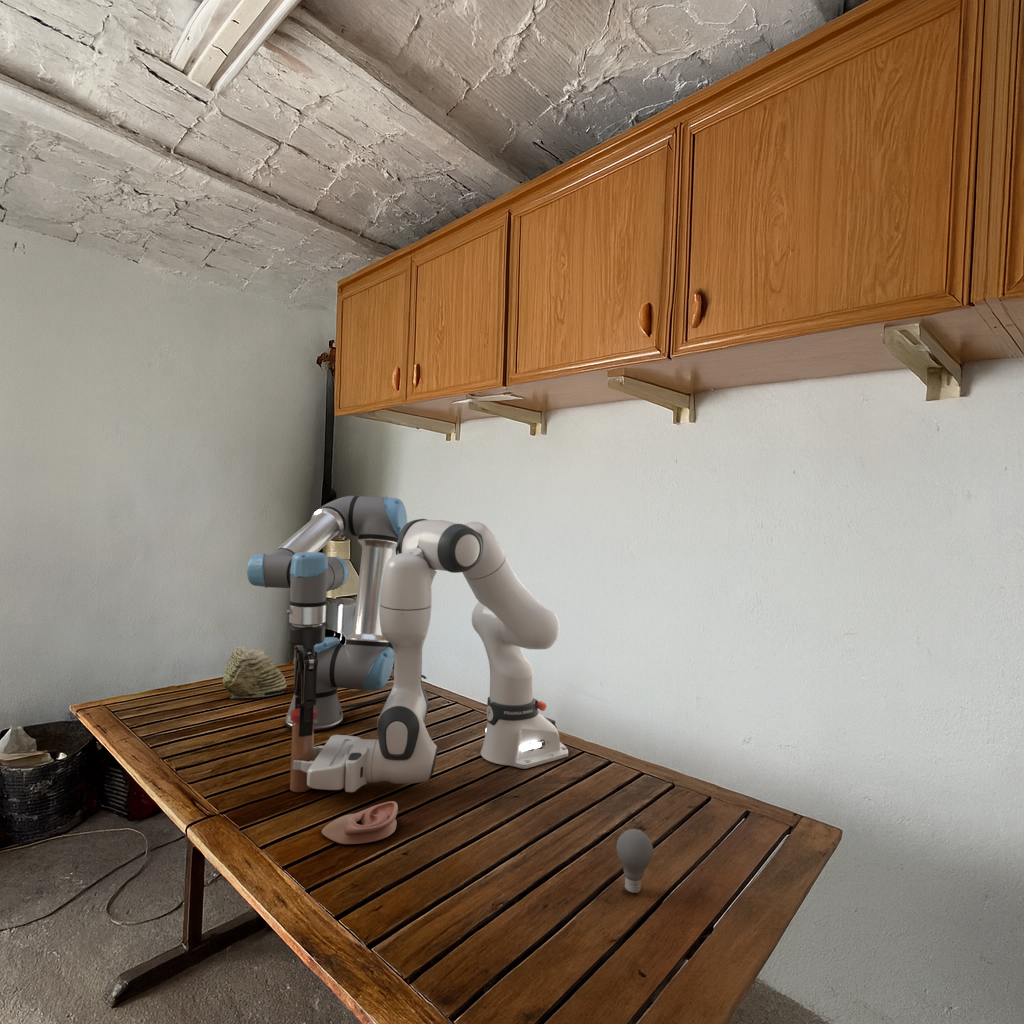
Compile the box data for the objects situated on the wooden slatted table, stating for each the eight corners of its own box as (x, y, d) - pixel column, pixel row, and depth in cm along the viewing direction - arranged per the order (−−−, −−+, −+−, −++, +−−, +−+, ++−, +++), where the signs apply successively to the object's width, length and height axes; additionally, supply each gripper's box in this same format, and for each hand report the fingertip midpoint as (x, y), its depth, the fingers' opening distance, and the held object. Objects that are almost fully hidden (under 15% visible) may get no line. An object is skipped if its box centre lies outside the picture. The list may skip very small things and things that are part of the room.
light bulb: (610, 879, 108) (613, 822, 108) (644, 879, 109) (647, 822, 109) (619, 902, 102) (622, 840, 102) (655, 901, 103) (658, 840, 103)
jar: (285, 787, 137) (288, 714, 137) (305, 780, 141) (307, 710, 141) (296, 794, 134) (299, 720, 134) (316, 787, 138) (318, 715, 137)
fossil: (218, 695, 195) (220, 647, 195) (278, 685, 208) (279, 640, 207) (228, 703, 189) (230, 653, 188) (289, 692, 201) (290, 645, 201)
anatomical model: (313, 818, 117) (342, 790, 128) (313, 839, 117) (341, 810, 128) (381, 829, 114) (404, 800, 125) (380, 850, 114) (403, 819, 125)
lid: (287, 716, 138) (287, 709, 138) (311, 712, 141) (312, 705, 141) (294, 724, 134) (295, 716, 134) (319, 720, 137) (320, 712, 137)
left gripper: (282, 617, 143) (279, 719, 144) (295, 633, 127) (291, 748, 128) (316, 615, 147) (313, 715, 147) (333, 631, 131) (329, 743, 131)
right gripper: (371, 728, 148) (312, 726, 148) (352, 765, 128) (283, 763, 127) (370, 755, 148) (311, 753, 148) (351, 796, 128) (281, 794, 127)
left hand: (303, 730), depth 137 cm, fingers closed on lid, 5 cm apart
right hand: (297, 758), depth 137 cm, fingers closed on jar, 4 cm apart
